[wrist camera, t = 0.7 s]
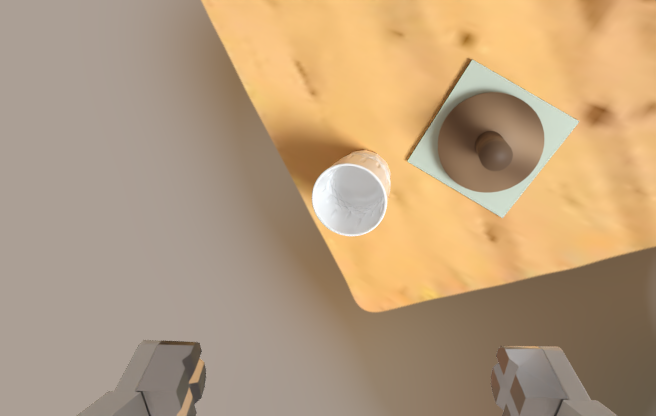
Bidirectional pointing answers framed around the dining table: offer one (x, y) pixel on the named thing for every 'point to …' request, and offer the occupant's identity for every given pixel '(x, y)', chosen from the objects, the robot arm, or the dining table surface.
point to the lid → (490, 142)
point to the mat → (484, 81)
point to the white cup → (353, 193)
